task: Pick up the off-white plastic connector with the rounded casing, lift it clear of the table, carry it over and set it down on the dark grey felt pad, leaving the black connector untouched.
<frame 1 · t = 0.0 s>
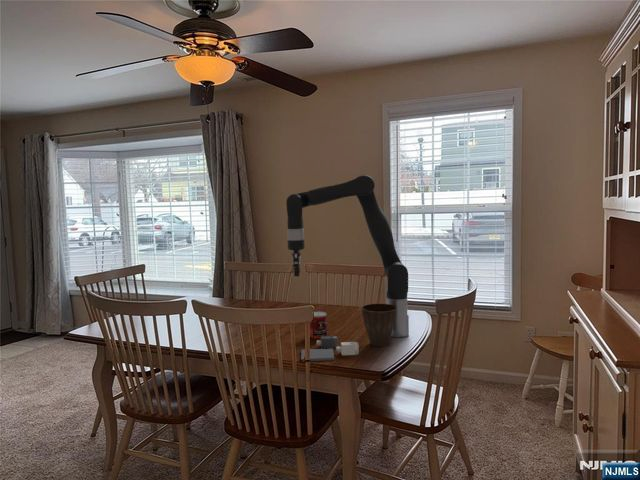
hand: (297, 274, 202), 29 cm above the table, fingers open, 8 cm apart
canned food: (319, 337, 205), on the table
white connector: (346, 353, 183), on the table
plant pot: (379, 344, 194), on the table
felt pad: (317, 355, 181), on the table
black connector: (326, 347, 192), on the table
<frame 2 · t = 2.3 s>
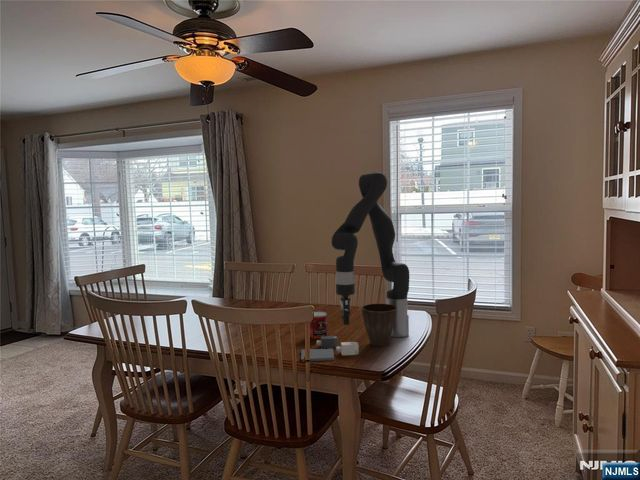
hand: (345, 321, 182), 13 cm above the table, fingers open, 8 cm apart
nothing on the table moved.
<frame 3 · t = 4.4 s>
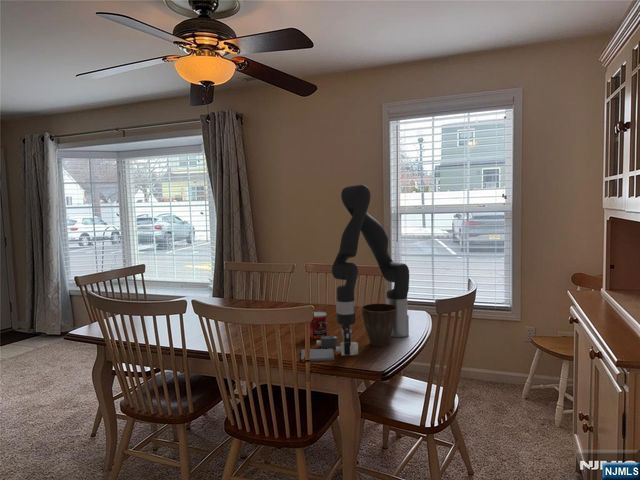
hand: (346, 352, 183), 0 cm above the table, fingers closed on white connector, 3 cm apart
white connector: (346, 353, 183), on the table, touching gripper
everything else where it was.
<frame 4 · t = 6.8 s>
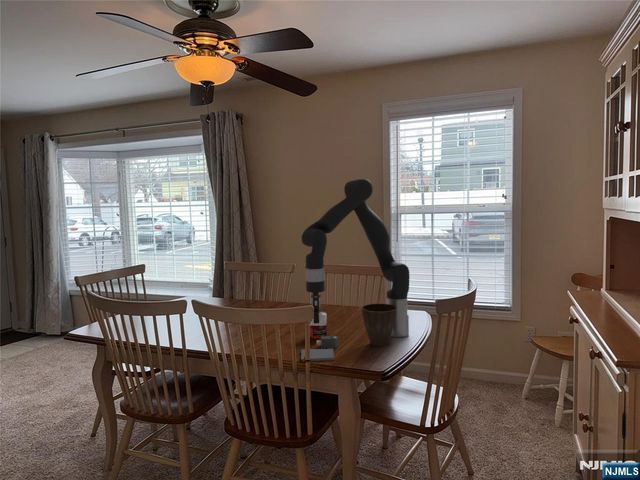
hand: (316, 321, 180), 14 cm above the table, fingers closed on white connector, 3 cm apart
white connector: (314, 324, 180), point 13 cm above the table, touching gripper
everything else where it was.
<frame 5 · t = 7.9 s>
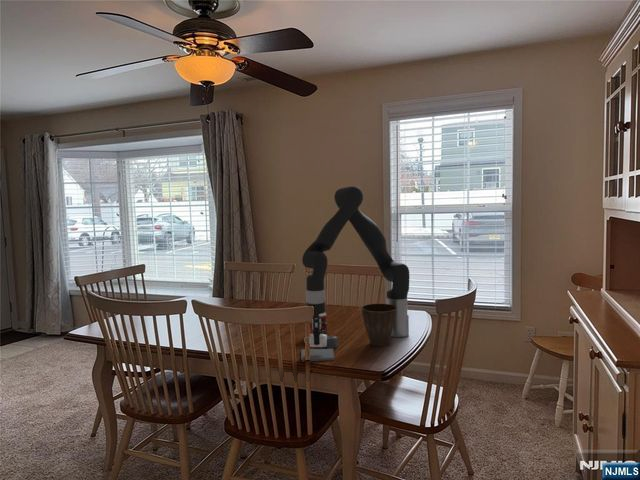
hand: (316, 342, 181), 5 cm above the table, fingers closed on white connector, 3 cm apart
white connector: (314, 345, 181), point 4 cm above the table, touching gripper
everything else where it was.
when the fingers open (3 cm above the table, at t = 9.1 s): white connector stays where it is, resting on felt pad.
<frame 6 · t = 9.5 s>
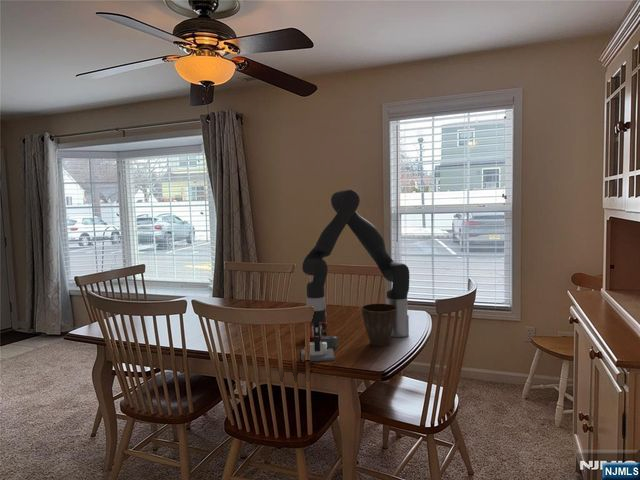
hand: (317, 347, 181), 3 cm above the table, fingers open, 7 cm apart
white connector: (315, 353, 181), point 1 cm above the table, touching felt pad
everything else where it was.
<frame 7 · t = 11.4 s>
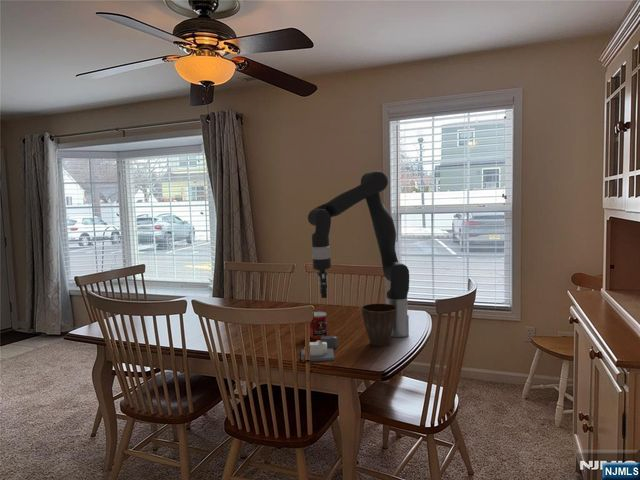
hand: (323, 295, 188), 23 cm above the table, fingers open, 8 cm apart
nothing on the table moved.
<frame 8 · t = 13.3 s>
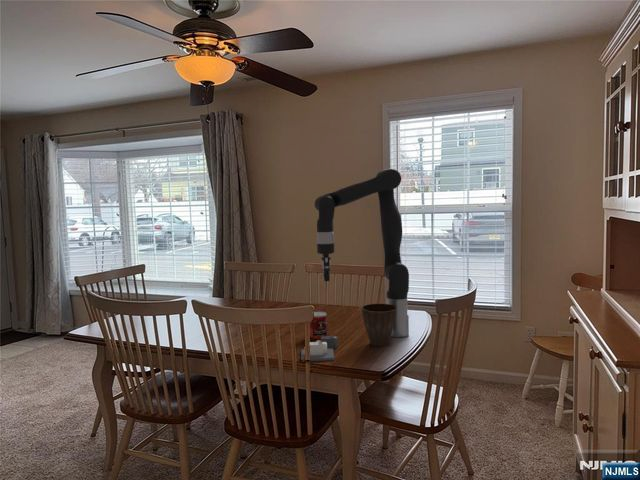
hand: (326, 279, 195), 28 cm above the table, fingers open, 8 cm apart
nothing on the table moved.
at the end: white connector inside the target area on the felt pad (0.8 cm from its centre), point 1.0 cm above the felt pad's base; the gripper is holding nothing; black connector moved 0.0 cm from its start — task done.
